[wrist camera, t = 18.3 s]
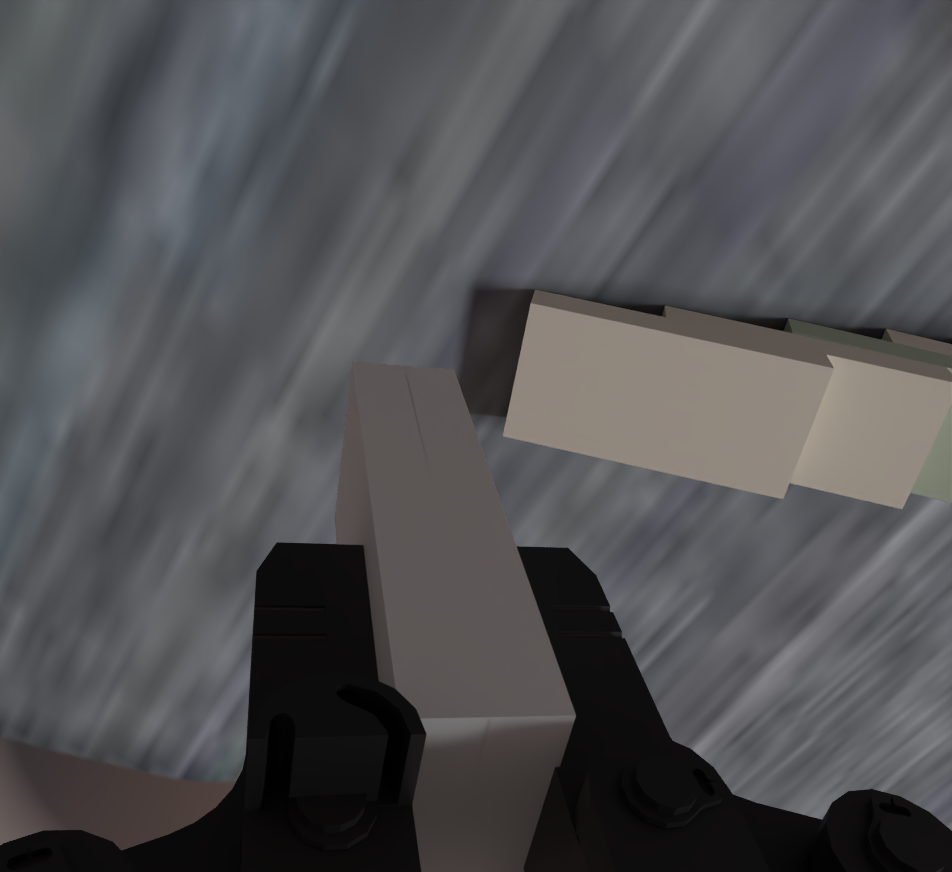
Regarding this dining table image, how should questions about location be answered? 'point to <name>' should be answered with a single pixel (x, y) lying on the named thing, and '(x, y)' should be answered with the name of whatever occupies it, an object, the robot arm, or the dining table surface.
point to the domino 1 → (665, 393)
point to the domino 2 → (861, 416)
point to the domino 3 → (948, 461)
